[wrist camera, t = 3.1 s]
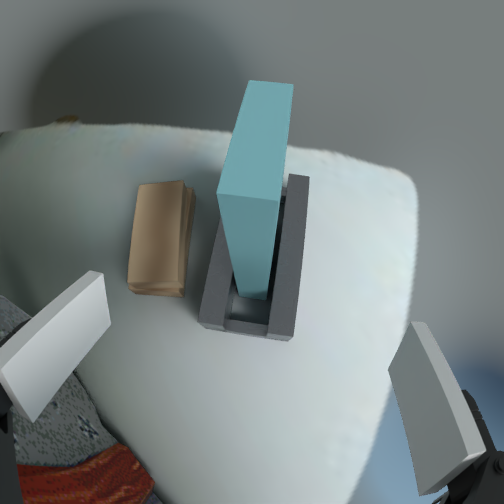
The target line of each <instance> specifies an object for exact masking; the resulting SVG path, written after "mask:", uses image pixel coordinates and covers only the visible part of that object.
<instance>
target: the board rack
mask: <svg viewBox="0 0 504 504" xmlns="http://www.w3.org/2000/svg"><path fill="white" fill-rule="evenodd" d="M308 191H309V177H308V176H302V175H295V174H289V177H288V184H287V188H282V190H281V198H280V203H282V204H285V205H284V213H283V221H282V229H281V236H280V244H279V251H278V258H277V266H276V273H275V280H274V287H273V294H272V300H271V307H270V314H269V321H268V325H263V324H256V323H250V322H243V321H237V320H231V319H230V314H231V309H232V303H233V298H234V292H235V287H236V280H235V276H234V271H233V267H232V263H231V258H230V254H229V249H228V245H227V240H226V236H225V231H224V227H223V222H222V218H221V216H220V221H219V225H218V229H217V233H216V238H215V242H214V247H213V251H212V255H211V260H210V264H209V269H208V274H207V278H206V283H205V288H204V292H203V297H202V302H201V307H200V312H199V316H198V321H197V322H199V323H200V324H201V325H202V326H204V327H205V328H207V329H212V330H217V331H223V332H229V333H235V334H241V335H247V336H253V337H260V338H267V339H274V340H281V341H289V340H290V339H291V338H292V337H293V334H294V327H295V319H296V312H297V303H298V295H299V287H300V278H301V269H302V259H303V249H304V239H305V228H306V217H307V205H308Z"/></svg>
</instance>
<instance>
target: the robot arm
mask: <svg viewBox="0 0 504 504" xmlns="http://www.w3.org/2000/svg"><path fill="white" fill-rule="evenodd" d="M110 325H111V321H110V315H109V309H108V303H107V297H106V291H105V284H104V276H103V273H99V272H95V271H91V270H90V271H88V272H87V273H86V274H85V275H83V276H82V277H81V278H80V279H78V280H77V281H76V282H75V283H73V284H72V285H71V286H70V287H68V288H67V289H66V290H65V291H64V292H62V293H61V294H60V295H59V296H58V297H56V298H55V299H54V300H53V301H52V302H50V303H49V304H48V305H47V306H46V307H45V308H43V309H42V310H41V311H40V312H39V313H38V314H37V315H35V316H34V317H33V318H30V319H28V320H26V321H24V322H22V323H20V324H19V325H18V326H16V327H15V328H14V329H13V330H12V332H10V333H9V334H8V335H7V336H6V338H3V339H2V340H1V341H0V504H24V502H23V498H22V493H21V488H20V482H19V477H18V470H17V463H16V455H15V446H14V434H13V415H12V411H11V410H10V408H11V406H12V405H14V406H15V408H16V410H17V411H18V413H19V414H20V415H21V416H23V417H24V418H26V419H27V420H29V421H31V422H32V423H34V422H35V420H36V419H37V417H38V416H39V415H40V413H41V412H42V411H43V409H44V408H45V407H46V405H47V404H48V403H49V401H50V400H51V399H52V397H53V396H54V395H55V393H56V392H57V391H58V389H59V388H60V387H61V385H62V384H63V383H64V382H65V380H66V379H67V378H68V376H69V375H70V374H71V373H72V371H73V370H74V369H75V368H76V366H77V365H78V364H79V363H80V361H81V360H82V359H83V358H84V356H85V355H86V354H87V353H88V351H89V350H90V349H91V348H92V347H93V345H94V344H95V343H96V342H97V340H98V339H99V338H100V337H101V336H102V334H103V333H104V332H105V331H106V330H107V329H108V327H109V326H110ZM388 371H389V375H390V378H391V381H392V385H393V388H394V391H395V395H396V398H397V401H398V405H399V409H400V413H401V416H402V420H403V424H404V428H405V432H406V435H407V440H408V444H409V448H410V453H411V457H412V462H413V467H414V471H415V476H416V481H417V486H418V492H419V496H422V495H427V494H431V493H436V492H438V491H439V490H440V489H442V488H443V487H445V486H446V485H447V486H448V491H447V492H446V493H444V494H443V495H442V496H440V497H439V498H437V499H436V500H435V501H434V502H433V503H432V504H436V503H438V502H439V501H440V503H439V504H504V452H502V451H497V450H496V449H495V446H494V444H493V441H492V439H491V436H490V434H489V431H488V429H487V427H486V424H485V422H484V420H482V415H481V413H480V412H479V411H478V410H479V409H478V406H477V404H476V402H475V400H474V398H473V397H472V396H471V395H470V394H469V393H468V392H467V391H466V390H461V389H460V387H459V385H458V383H457V381H456V379H455V377H454V375H453V373H452V371H451V369H450V367H449V365H448V363H447V361H446V359H445V358H444V356H443V354H442V352H441V350H440V348H439V346H438V344H437V343H436V341H435V339H434V337H433V335H432V334H431V332H430V330H429V328H428V327H427V325H426V323H425V322H412V321H411V322H410V324H409V326H408V328H407V330H406V333H405V335H404V337H403V339H402V342H401V344H400V346H399V348H398V350H397V352H396V354H395V356H394V358H393V360H392V362H391V364H390V366H389V368H388Z"/></svg>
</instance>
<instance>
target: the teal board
mask: <svg viewBox="0 0 504 504" xmlns="http://www.w3.org/2000/svg"><path fill="white" fill-rule="evenodd" d="M292 95H293V84H284V83H275V82H265V81H253V80H249V83H248V86H247V89H246V92H245V95H244V99H243V102H242V105H241V108H240V111H239V115H238V118H237V121H236V125H235V128H234V131H233V135H232V138H231V142H230V145H229V149H228V152H227V156H226V159H225V163H224V166H223V170H222V174H221V177H220V181H219V185H218V188H217V192H216V194H217V199H218V204H219V208H220V213H221V218H222V222H223V227H224V231H225V236H226V240H227V245H228V249H229V254H230V258H231V263H232V267H233V271H234V276H235V280H236V284H237V289H238V293H239V296H240V297H246V298H253V299H260V300H266V297H267V291H268V284H269V277H270V270H271V264H272V257H273V250H274V243H275V236H276V229H277V221H278V214H279V206H280V198H281V190H282V182H283V174H284V166H285V157H286V149H287V140H288V131H289V123H290V114H291V103H292Z"/></svg>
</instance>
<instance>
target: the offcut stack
mask: <svg viewBox="0 0 504 504" xmlns="http://www.w3.org/2000/svg"><path fill="white" fill-rule="evenodd" d="M195 201H196V196H195V193H194V190H193V188H186V186H185V184H184V181H183V180H181V181H171V182H161V183H152V184H144V185H139V190H138V196H137V202H136V209H135V215H134V222H133V230H132V238H131V247H130V256H129V266H128V278H127V283H129V288H128V289H129V290H131V291H132V292H134V293H135V294H143V295H156V296H171V297H184V289H185V279H186V270H187V261H188V253H189V245H190V237H191V229H192V222H193V215H194V208H195Z"/></svg>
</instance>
